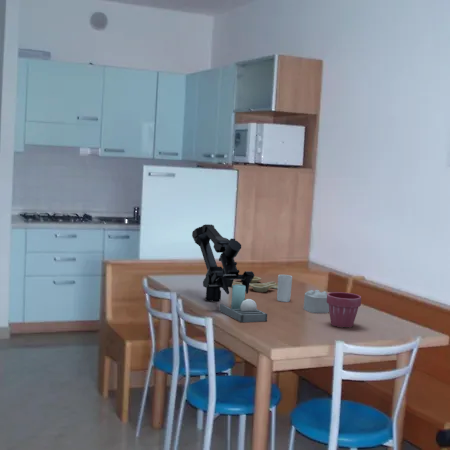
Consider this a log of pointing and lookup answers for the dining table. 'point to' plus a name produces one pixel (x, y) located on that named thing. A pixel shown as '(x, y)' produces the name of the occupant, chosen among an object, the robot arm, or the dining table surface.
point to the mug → (284, 288)
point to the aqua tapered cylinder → (237, 296)
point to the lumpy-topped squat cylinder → (316, 302)
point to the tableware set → (260, 285)
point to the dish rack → (244, 314)
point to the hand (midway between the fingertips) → (237, 293)
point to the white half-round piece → (248, 305)
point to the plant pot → (343, 308)
